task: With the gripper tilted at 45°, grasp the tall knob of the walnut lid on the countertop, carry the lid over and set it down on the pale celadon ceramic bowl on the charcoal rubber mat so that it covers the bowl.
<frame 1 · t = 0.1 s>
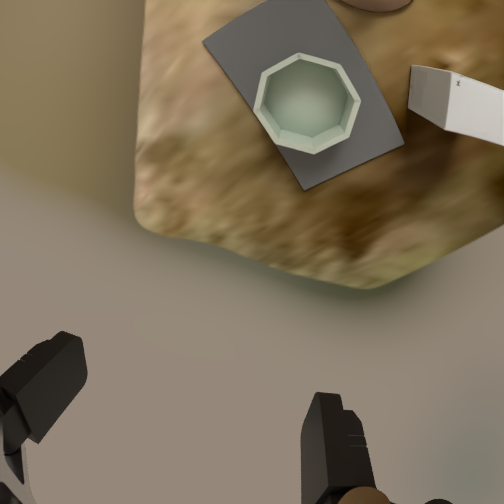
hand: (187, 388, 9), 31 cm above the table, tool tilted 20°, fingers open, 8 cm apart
mat: (309, 85, 30), on the table
bowl: (306, 97, 31), resting on mat
small box: (437, 92, 27), on the table
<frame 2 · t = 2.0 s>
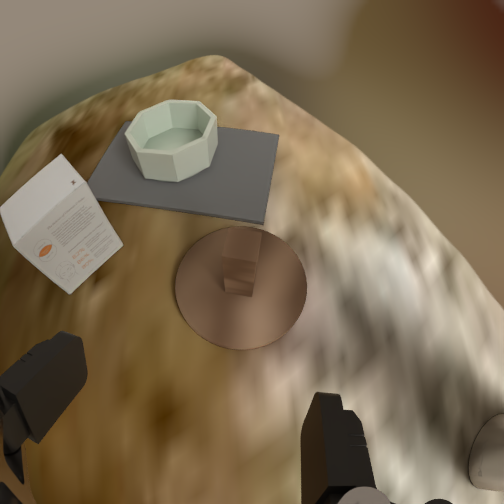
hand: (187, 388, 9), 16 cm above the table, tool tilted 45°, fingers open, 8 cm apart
mat: (181, 163, 36), on the table
bowl: (175, 153, 36), resting on mat
lid: (241, 286, 29), on the table
small box: (85, 255, 30), on the table
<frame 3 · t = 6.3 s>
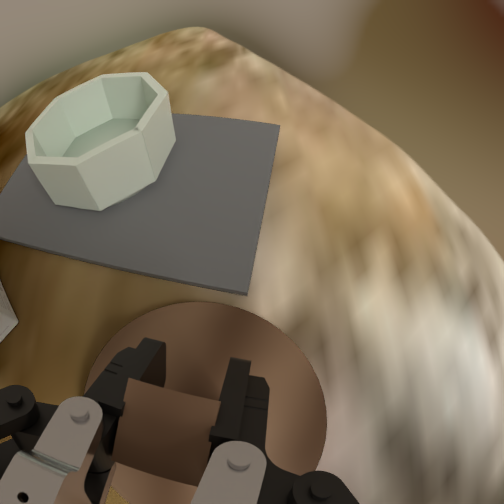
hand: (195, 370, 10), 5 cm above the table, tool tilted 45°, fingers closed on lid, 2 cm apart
mat: (116, 175, 20), on the table
bowl: (109, 160, 21), resting on mat
lid: (200, 420, 13), on the table, touching gripper
when the fingers open (11 cm above the table, at t = 11.4 s): lid stays where it is, resting on bowl.
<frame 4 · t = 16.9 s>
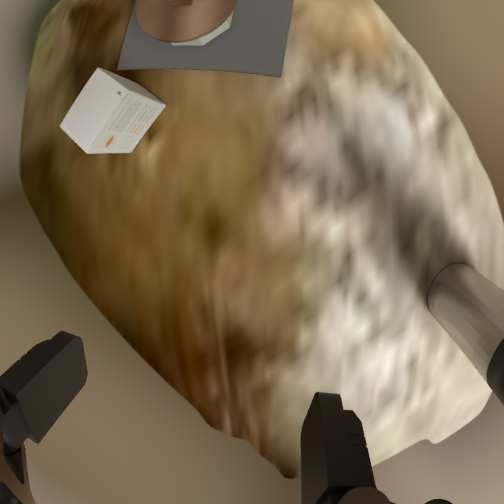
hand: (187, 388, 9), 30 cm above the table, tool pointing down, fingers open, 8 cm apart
mat: (203, 23, 31), on the table
bowl: (196, 16, 31), resting on mat
lid: (186, 1, 26), point 5 cm above the table, touching bowl
small box: (135, 118, 36), on the table
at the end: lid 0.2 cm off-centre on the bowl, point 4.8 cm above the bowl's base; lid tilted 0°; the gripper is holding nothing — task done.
